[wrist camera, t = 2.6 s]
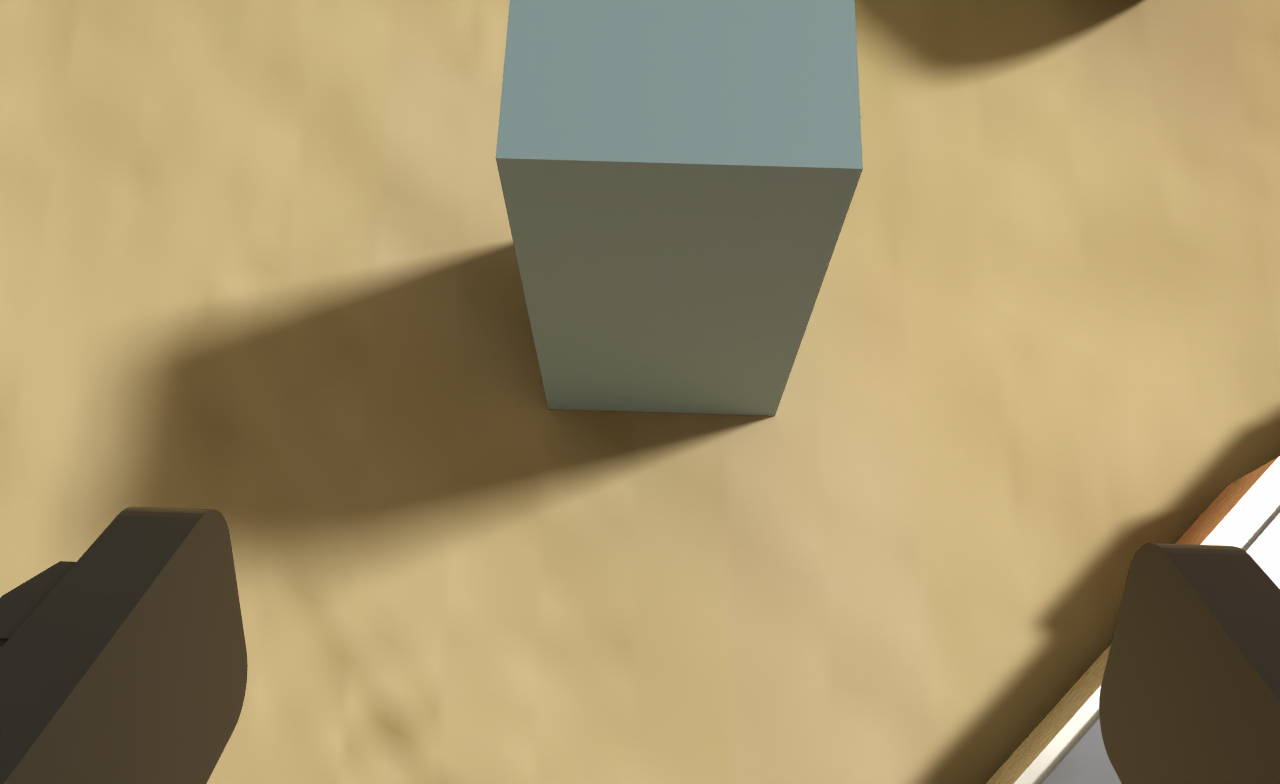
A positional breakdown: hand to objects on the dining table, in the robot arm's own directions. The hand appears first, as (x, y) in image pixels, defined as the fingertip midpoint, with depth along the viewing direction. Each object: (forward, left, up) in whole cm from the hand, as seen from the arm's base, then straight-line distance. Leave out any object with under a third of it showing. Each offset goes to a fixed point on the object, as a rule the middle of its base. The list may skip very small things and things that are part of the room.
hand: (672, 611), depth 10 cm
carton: (0, +9, -13) cm, 16 cm away
